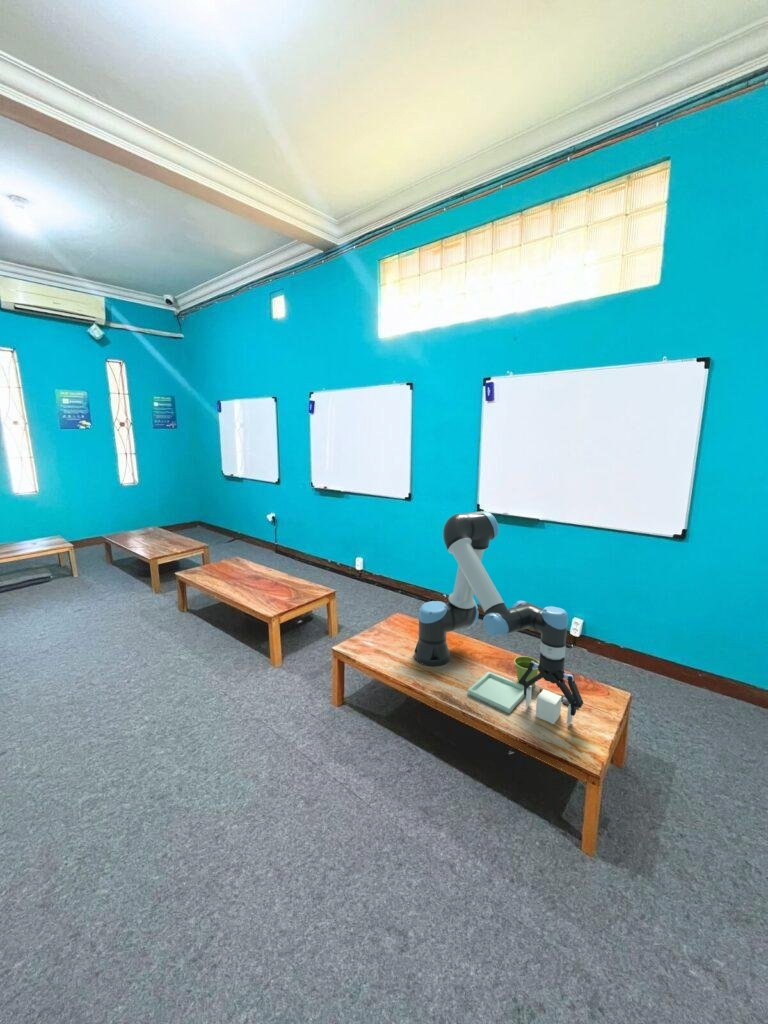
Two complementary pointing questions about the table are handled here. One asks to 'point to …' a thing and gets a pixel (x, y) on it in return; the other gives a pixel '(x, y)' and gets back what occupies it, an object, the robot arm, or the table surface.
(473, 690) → the tray
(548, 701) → the block
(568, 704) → the scoop
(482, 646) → the table surface
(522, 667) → the plant pot
